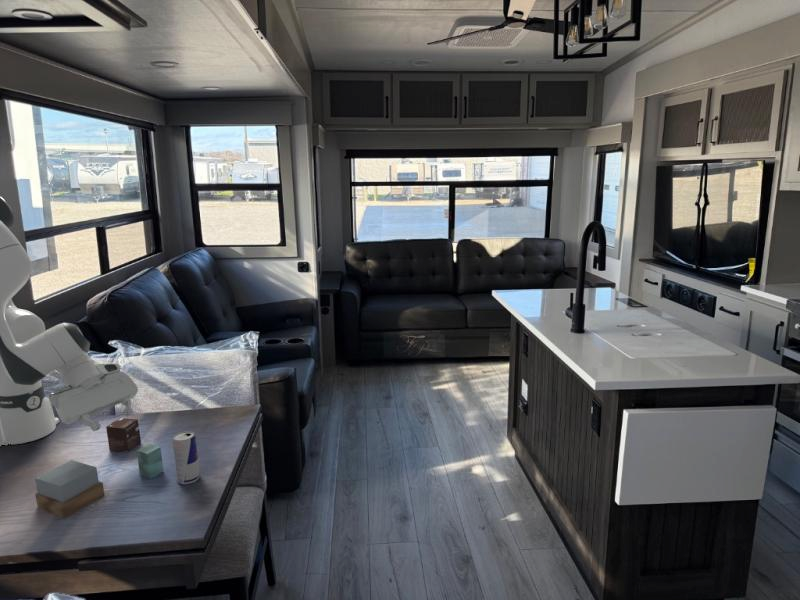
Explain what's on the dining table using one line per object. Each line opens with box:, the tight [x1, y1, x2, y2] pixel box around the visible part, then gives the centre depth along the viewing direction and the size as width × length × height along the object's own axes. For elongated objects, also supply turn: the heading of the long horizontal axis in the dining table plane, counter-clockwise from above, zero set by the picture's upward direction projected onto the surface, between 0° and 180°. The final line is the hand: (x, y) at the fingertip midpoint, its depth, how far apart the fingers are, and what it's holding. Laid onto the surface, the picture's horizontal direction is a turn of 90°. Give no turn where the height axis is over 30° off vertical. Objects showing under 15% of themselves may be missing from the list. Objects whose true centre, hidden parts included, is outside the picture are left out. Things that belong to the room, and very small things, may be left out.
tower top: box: [34, 459, 100, 502], centre depth 133 cm, size 9×9×4 cm
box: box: [105, 417, 142, 453], centre depth 159 cm, size 6×6×7 cm
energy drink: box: [172, 430, 201, 485], centre depth 141 cm, size 5×5×12 cm
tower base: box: [35, 480, 106, 520], centre depth 133 cm, size 10×10×4 cm
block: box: [136, 443, 164, 480], centre depth 145 cm, size 4×4×7 cm
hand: (114, 421), depth 146 cm, fingers open, 8 cm apart
